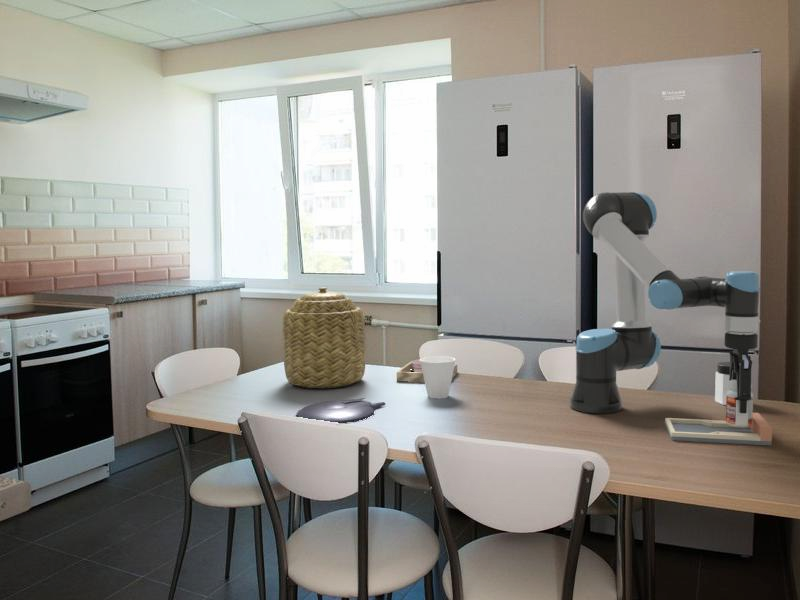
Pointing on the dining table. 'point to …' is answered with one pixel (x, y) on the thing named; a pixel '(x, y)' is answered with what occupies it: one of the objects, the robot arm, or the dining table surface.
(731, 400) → the pill bottle
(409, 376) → the birch tray rim
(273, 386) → the dining table surface
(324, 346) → the basket
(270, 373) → the dining table surface
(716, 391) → the jar
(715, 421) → the keyhole board
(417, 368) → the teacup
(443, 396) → the cup
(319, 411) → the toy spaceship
